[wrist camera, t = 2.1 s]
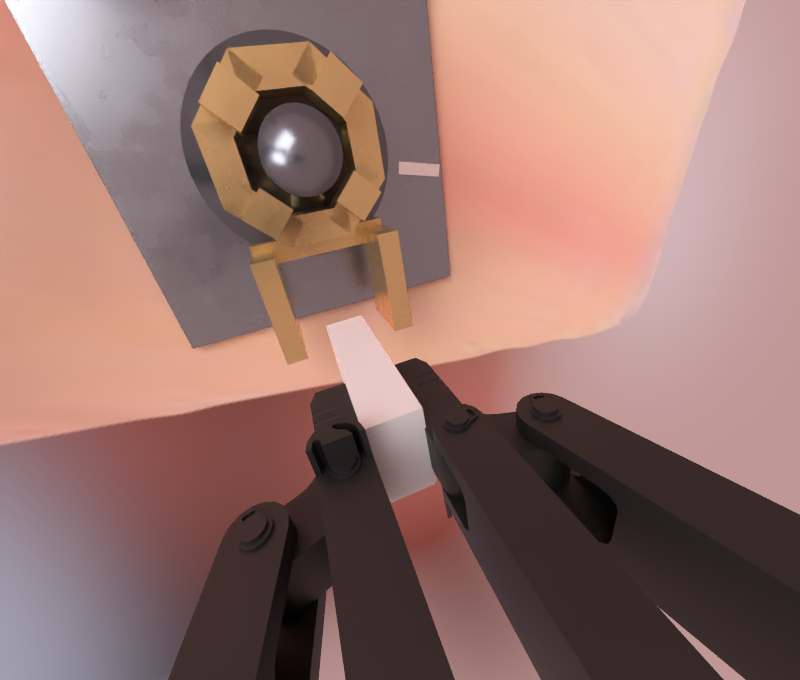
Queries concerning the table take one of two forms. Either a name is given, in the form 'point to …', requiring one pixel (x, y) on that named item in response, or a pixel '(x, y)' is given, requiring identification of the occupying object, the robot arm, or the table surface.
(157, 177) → the cap plate
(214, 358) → the table surface
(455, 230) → the table surface
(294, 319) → the octagonal ring stand
